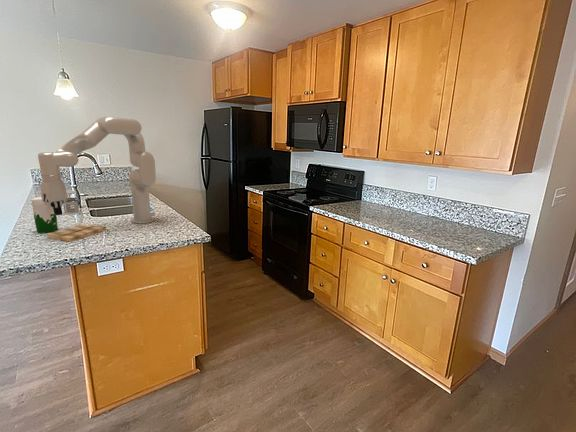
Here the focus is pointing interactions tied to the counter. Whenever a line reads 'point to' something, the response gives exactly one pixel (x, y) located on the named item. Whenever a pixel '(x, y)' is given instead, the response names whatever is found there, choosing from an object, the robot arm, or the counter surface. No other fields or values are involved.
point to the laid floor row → (82, 233)
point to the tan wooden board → (67, 231)
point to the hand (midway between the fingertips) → (58, 214)
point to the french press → (71, 203)
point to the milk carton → (44, 216)
